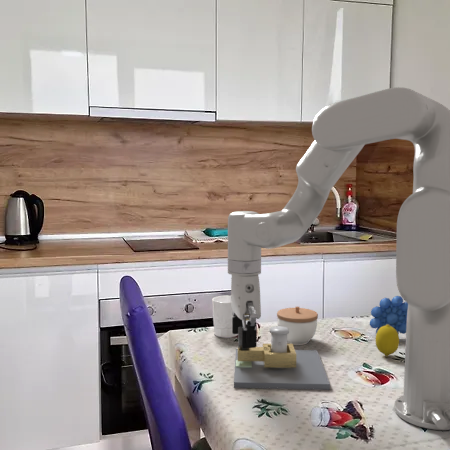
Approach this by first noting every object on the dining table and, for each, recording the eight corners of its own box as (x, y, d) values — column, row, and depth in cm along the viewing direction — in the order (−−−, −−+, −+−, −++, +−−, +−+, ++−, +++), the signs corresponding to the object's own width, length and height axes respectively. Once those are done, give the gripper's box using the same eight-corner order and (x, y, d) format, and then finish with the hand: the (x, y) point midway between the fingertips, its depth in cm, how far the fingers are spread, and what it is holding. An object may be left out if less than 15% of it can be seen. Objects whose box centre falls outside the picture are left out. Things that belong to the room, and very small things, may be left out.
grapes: (413, 336, 141) (415, 293, 140) (414, 344, 135) (416, 299, 134) (369, 331, 145) (371, 290, 144) (368, 339, 139) (370, 295, 137)
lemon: (380, 350, 130) (381, 319, 129) (401, 355, 127) (403, 324, 126) (371, 356, 126) (372, 325, 125) (393, 362, 122) (394, 329, 122)
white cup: (243, 330, 146) (243, 296, 145) (237, 339, 138) (237, 303, 137) (216, 328, 148) (216, 294, 147) (209, 337, 140) (209, 301, 139)
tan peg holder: (237, 367, 114) (238, 332, 113) (237, 355, 121) (237, 322, 120) (296, 367, 114) (296, 332, 113) (292, 356, 121) (292, 322, 120)
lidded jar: (283, 349, 131) (284, 313, 130) (271, 336, 141) (272, 302, 140) (323, 346, 133) (324, 311, 132) (308, 333, 143) (309, 300, 142)
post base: (329, 389, 107) (330, 345, 106) (233, 387, 108) (234, 343, 107) (316, 354, 127) (317, 317, 126) (236, 353, 128) (236, 315, 127)
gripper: (271, 273, 108) (270, 352, 110) (250, 259, 125) (250, 327, 127) (236, 274, 106) (236, 354, 108) (220, 260, 123) (220, 329, 125)
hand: (243, 340), depth 117 cm, fingers open, 9 cm apart
